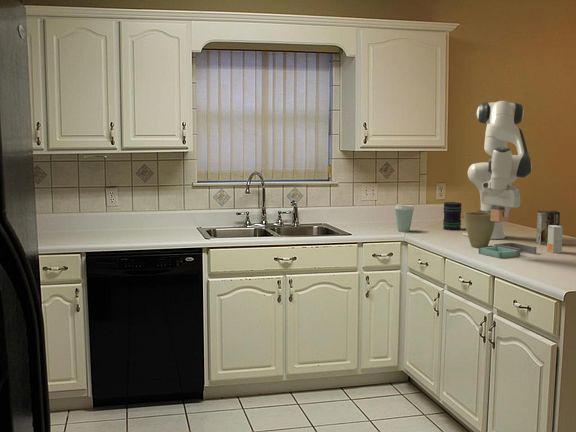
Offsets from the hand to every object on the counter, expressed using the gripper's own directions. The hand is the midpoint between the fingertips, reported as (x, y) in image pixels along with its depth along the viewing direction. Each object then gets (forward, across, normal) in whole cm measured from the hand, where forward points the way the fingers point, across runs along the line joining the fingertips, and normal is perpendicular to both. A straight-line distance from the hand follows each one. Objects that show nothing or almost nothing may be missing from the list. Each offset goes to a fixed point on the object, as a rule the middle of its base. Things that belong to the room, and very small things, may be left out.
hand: (499, 216), depth 295 cm
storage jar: (+17, +73, -38) cm, 84 cm away
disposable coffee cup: (+17, +79, -9) cm, 81 cm away
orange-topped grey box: (+2, 0, 0) cm, 2 cm away
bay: (+17, +2, -12) cm, 21 cm away
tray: (+17, 0, 0) cm, 17 cm away
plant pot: (+18, +21, -8) cm, 29 cm away
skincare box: (+18, -6, -28) cm, 34 cm away
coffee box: (+18, +12, -44) cm, 49 cm away
